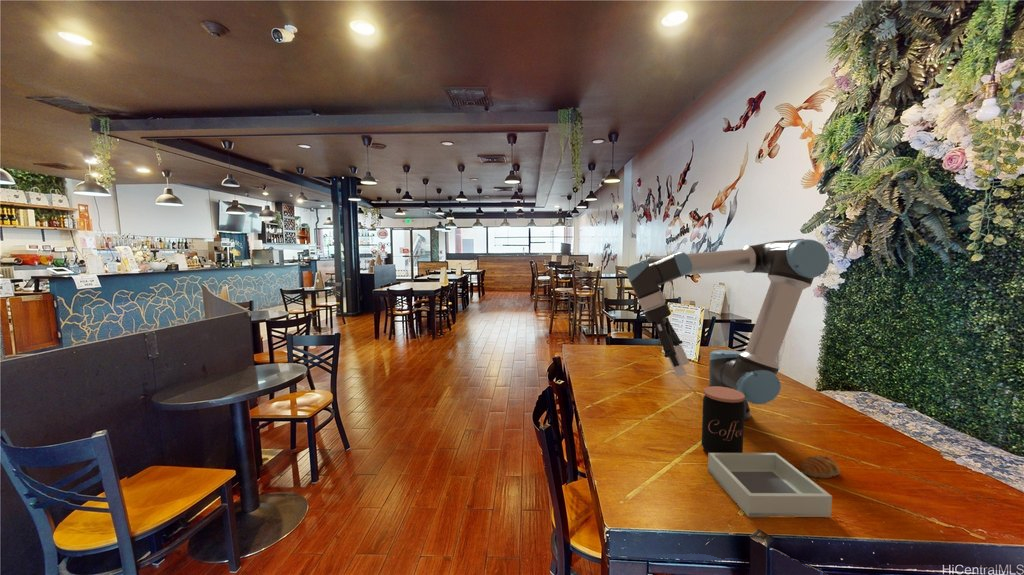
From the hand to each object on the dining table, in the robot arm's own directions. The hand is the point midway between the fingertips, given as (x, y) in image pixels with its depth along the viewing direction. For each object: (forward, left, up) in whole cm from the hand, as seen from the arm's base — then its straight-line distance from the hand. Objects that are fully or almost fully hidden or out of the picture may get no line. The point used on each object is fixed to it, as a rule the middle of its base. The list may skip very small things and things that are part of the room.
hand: (683, 369), depth 116 cm
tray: (-8, +27, -22) cm, 36 cm away
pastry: (-29, +18, -23) cm, 41 cm away
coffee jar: (-8, +8, -23) cm, 25 cm away
